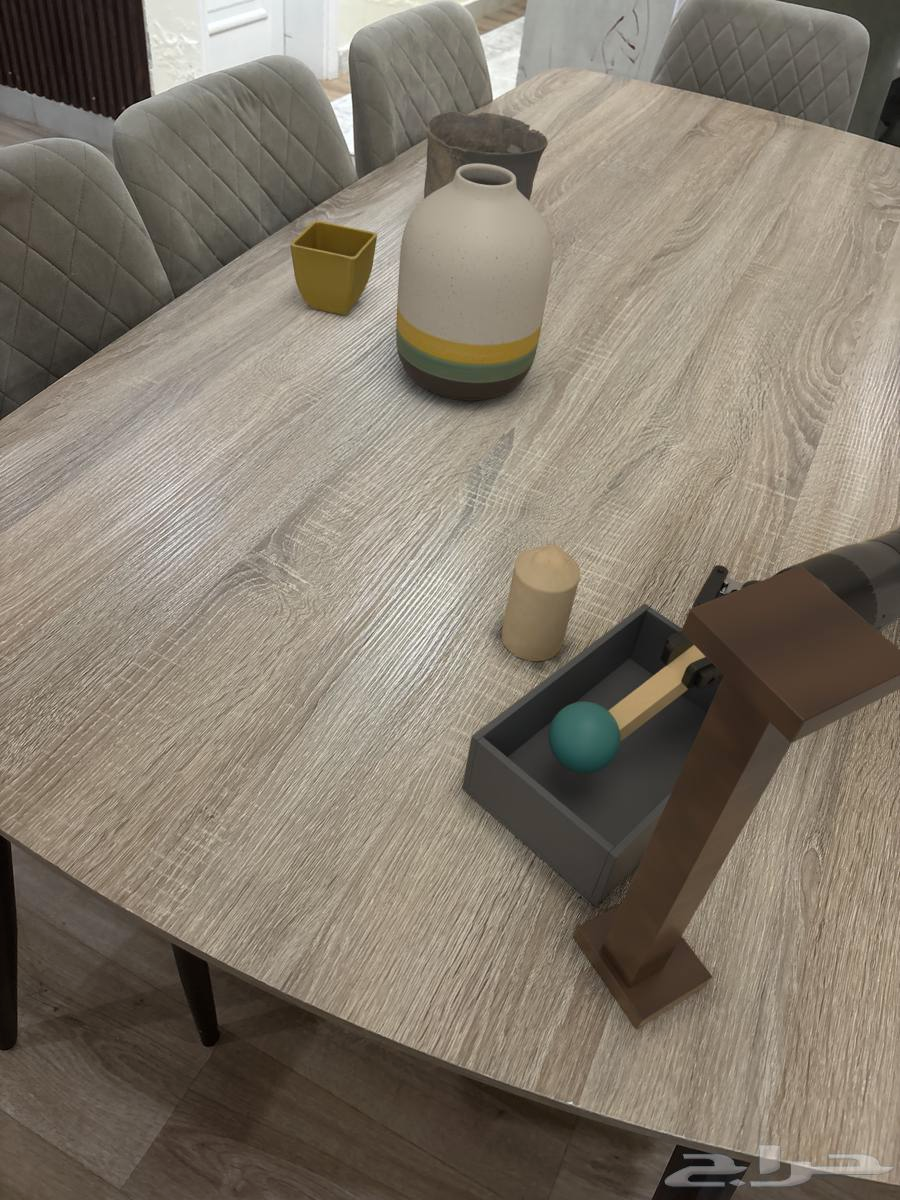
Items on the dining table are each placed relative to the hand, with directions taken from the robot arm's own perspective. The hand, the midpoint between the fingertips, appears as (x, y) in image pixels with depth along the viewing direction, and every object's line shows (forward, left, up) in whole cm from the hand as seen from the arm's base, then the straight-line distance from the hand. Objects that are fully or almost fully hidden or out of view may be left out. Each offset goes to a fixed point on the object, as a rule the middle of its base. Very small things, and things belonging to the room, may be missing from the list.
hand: (677, 666), depth 69 cm
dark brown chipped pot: (+77, -61, -11) cm, 99 cm away
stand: (-10, +15, -10) cm, 21 cm away
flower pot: (+72, -28, -11) cm, 78 cm away
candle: (+14, -2, -11) cm, 18 cm away
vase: (+49, -29, -11) cm, 58 cm away
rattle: (0, +1, -4) cm, 4 cm away
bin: (+1, +3, -10) cm, 11 cm away
